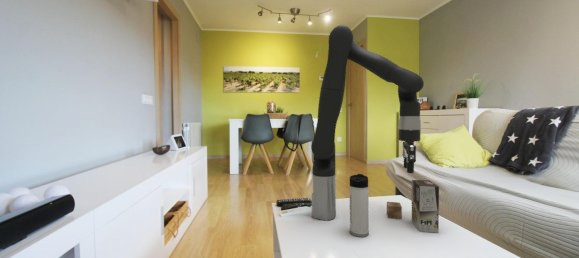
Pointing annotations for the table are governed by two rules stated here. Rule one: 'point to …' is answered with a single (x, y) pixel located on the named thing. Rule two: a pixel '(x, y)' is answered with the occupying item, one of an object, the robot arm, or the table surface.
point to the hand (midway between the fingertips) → (408, 170)
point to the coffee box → (425, 205)
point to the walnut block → (394, 210)
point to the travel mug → (359, 205)
